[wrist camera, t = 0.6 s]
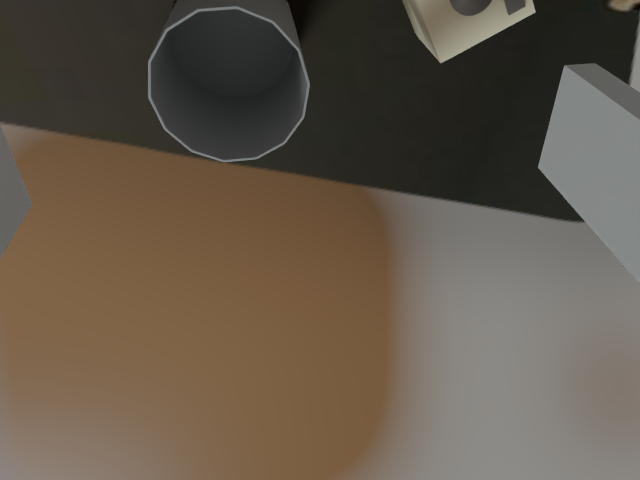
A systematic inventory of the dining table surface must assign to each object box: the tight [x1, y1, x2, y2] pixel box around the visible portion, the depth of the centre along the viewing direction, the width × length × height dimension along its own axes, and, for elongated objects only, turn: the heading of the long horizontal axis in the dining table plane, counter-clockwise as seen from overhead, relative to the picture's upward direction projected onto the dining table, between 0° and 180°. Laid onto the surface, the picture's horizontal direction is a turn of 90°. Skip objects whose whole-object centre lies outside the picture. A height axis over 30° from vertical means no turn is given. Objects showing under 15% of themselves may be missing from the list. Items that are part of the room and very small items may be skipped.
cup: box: [148, 0, 310, 162], centre depth 32 cm, size 8×8×10 cm
